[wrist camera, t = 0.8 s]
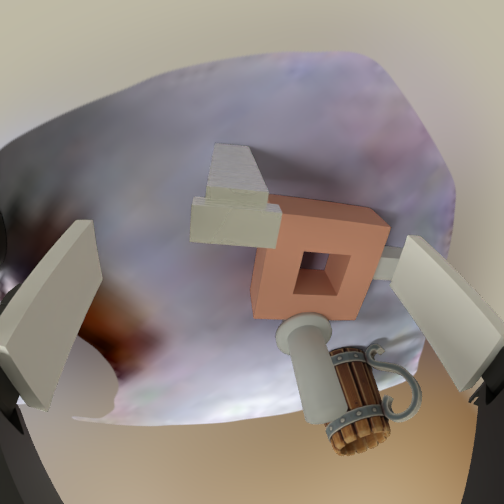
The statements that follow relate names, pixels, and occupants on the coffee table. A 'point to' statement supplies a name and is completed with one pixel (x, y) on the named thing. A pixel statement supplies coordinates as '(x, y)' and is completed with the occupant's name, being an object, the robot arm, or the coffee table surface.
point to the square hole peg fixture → (319, 288)
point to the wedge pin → (235, 203)
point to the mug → (365, 401)
